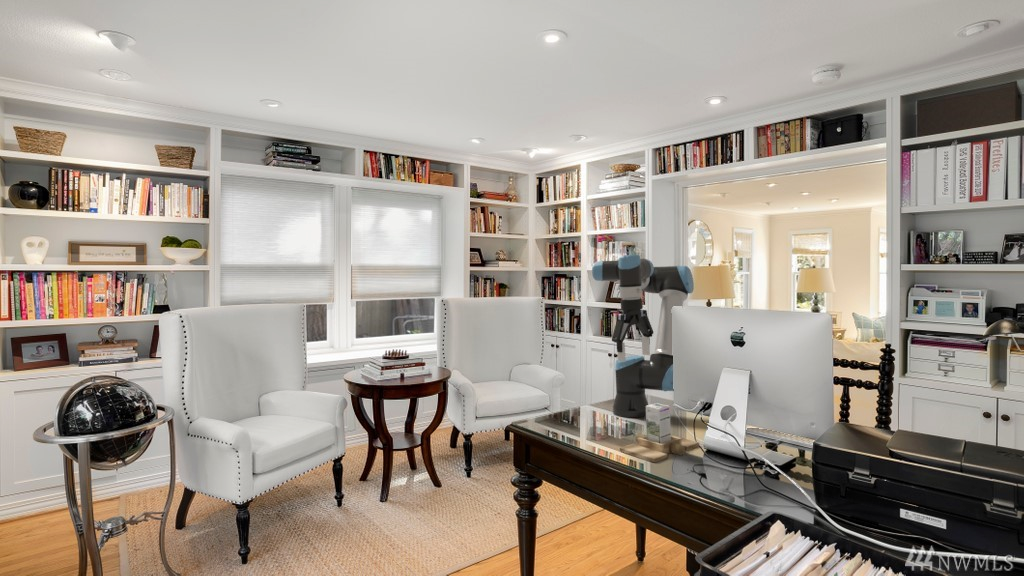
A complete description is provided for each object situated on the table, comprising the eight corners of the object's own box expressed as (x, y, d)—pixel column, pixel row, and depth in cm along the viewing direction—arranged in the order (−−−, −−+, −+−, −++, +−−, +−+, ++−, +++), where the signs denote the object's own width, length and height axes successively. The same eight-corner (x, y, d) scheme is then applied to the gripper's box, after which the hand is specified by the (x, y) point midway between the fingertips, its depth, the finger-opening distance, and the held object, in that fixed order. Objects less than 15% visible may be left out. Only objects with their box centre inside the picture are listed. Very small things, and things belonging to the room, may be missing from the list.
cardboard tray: (615, 450, 177) (615, 439, 177) (660, 435, 190) (659, 425, 190) (658, 464, 163) (658, 452, 163) (703, 447, 176) (703, 436, 176)
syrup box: (672, 449, 176) (670, 405, 175) (660, 453, 172) (658, 408, 172) (658, 444, 181) (656, 402, 180) (646, 448, 177) (645, 405, 177)
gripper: (616, 302, 178) (619, 365, 179) (661, 295, 194) (664, 353, 195) (599, 301, 184) (602, 362, 185) (644, 294, 200) (647, 351, 201)
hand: (634, 358), depth 190 cm, fingers open, 13 cm apart
